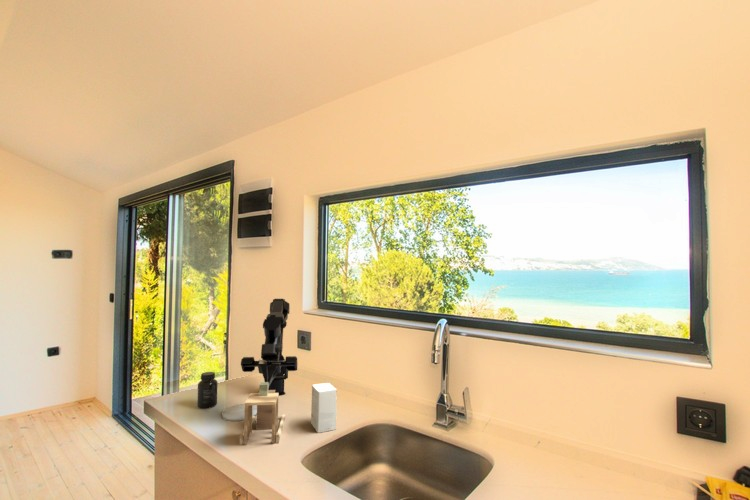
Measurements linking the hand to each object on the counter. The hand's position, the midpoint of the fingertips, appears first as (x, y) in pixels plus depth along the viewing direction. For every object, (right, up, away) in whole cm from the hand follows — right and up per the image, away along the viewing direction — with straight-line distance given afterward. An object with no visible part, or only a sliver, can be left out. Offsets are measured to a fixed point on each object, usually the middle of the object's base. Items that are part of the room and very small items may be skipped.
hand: (266, 387), depth 122 cm
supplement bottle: (-27, -13, +16) cm, 34 cm away
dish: (-12, -13, +9) cm, 20 cm away
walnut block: (0, -13, -1) cm, 13 cm away
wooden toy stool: (+1, -12, -9) cm, 15 cm away
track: (0, -13, -4) cm, 13 cm away
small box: (+19, -13, 0) cm, 23 cm away
